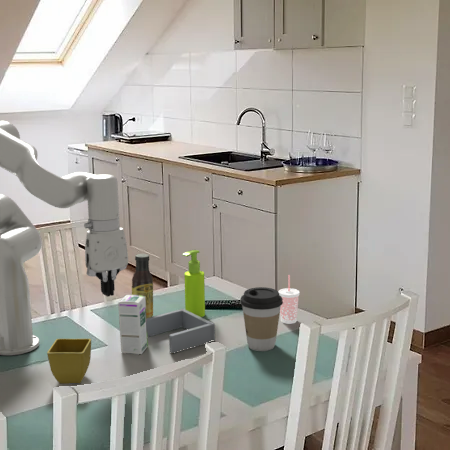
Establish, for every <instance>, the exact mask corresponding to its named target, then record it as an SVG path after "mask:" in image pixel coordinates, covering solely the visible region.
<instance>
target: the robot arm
mask: <svg viewBox="0 0 450 450" xmlns="http://www.w3.org/2000/svg"><path fill="white" fill-rule="evenodd" d="M0 168H2V169H4V170H6V171H7V172H8V173H10V174H12V175H14V176H16V177H17V178H18V180H19V182H20V184H22V186H23V187H24V188H25V190H26V191H27V192H28V193H30V194H31V195H32V196H34V197H36V198H37V199H39V200H41V201H43V202H44V203H45V204H48V205H50V206H51V207H55V208H59V209H69V208H71V207H73V206H75V205H77V204H81V203H83V202H84V203H85V202H86V201H87V209H88V210H87V212H88V213H87V214H88V216H87V217H88V218H87V222H85V223H83V227H84V228H85V229H88V230H87V231H86V236H85V244H84V261H85V263H84V264H85V267H86V276H88V277H91V278H92V277H95V278H97V279H99V280H100V291H101V293H102V295H104V296H106V297H107V298H108V297H110V296H114V295H115V289H116V288H115V280H116V279H117V276H118V275H119V273H120V272H122V271H124V270H126V269H127V266H128V265H129V253H128V251H129V250H128V244H127V240H126V235H125V232H124V228H123V227H120V225H121V223H120V206H119V205H120V204H119V202H120V201H119V187H118V186H119V184H118V182H119V181H118V178H117V177H116V176H115V175H113V174H105V173H103V174H102V173H101V174H94V173H89V172H84V171H75V172H72V173H68V174H66V175H63V176H59V175H57V174H54V173H53V172H51V171H49V170H47V169H46V168H44V167H43V166H41V164H39V163H38V151H37V148H36V147H35V146H33V145H32V144H30V143H27V142H26V141H24V140H23V139H21V135H20V132H19V130H18V129H17V127H16V126H15V125H14V124H12V123H11V122H9V121H6V120H0ZM42 242H43V241H42V237H41V235H40V232H39V230H38V229H37V227H36V226H35V225H34V223H32V222H31V220H30V218H29V217H28V216H27V215H26V214H25V213H24V211H23V210H22V209H21V207H20V206H19V205H18V204H17V202H16V201H14V200H13V199H12V198H11V197H9V196H8V195H6V194H3V193H0V356H17V355H18V356H19V355H23V354H27V353H29V352H31V351H32V352H33V351H34V350H36V349H37V348H38V347H39V346H40V338H39V337H38V336H36V335H34V334H33V333H34V332H33V320H32V318H33V317H32V308H31V307H32V306H31V296H30V284H29V277H28V275H27V273H26V271H25V268H24V265H23V264H24V263H25V262H27V261H29V260H31V259H33V258H34V257H35V256H37V255H38V254H39V252H40V251H41V250H42V246H43V243H42Z"/></svg>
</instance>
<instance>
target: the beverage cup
mask: <svg viewBox="0 0 450 450" xmlns="http://www.w3.org/2000/svg"><path fill="white" fill-rule="evenodd" d="M287 276H288V277H287V278H288V279H287V281H288V282H287V284H288V285H287V287H286V288H285V287H284V288H281V289H279V290H277V291H278V292H279V295H280V296H281V297H282V299H283V300H282V301H283V304H282V305H281V307H280V315H279V316H280V322H281V323H283V324H287V325H290V324H295V323H297V320H298V307H299V296H300V290H298V289H296V288H291V275H290V274H288V275H287Z"/></svg>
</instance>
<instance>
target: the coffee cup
mask: <svg viewBox="0 0 450 450" xmlns="http://www.w3.org/2000/svg"><path fill="white" fill-rule="evenodd" d="M278 291H279V290H276V289H275V288H271V287H265V286H264V287H263V286H262V287H261V286H260V287H259V286H257V287H251V288H249V289H246V290H245V291H244V292H243V295H241V297H240V301H239V304H240V305H241V306H242V313H243V320H244V329H245V334H246V335H245V336H246V341H247V347H248V348H249V349H250V350H252V351H255V352H256V351H257V352H267V351H272V350H273V349H275V345H276V342H277V336H278V335H277V334H278V329H279V321H280V316H281V315H280V307H281V305H282V304H283V301H282V300H283V299H282V297H281V296H280V295H279V292H278Z"/></svg>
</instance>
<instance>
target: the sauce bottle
mask: <svg viewBox="0 0 450 450" xmlns="http://www.w3.org/2000/svg"><path fill="white" fill-rule="evenodd" d="M134 256H135V257H134V260H135V271H134V273H133V276H132V279H131V284H132V285H131V295H141V296H145V300H146V317H147V318H149V317H153V316H154V282H153V281H154V280H153V275H152V273H151V271H150V265H149V263H150V262H149V261H150V255H149V254H148V253H147V254H146V253H139V254H136V255H134Z"/></svg>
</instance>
